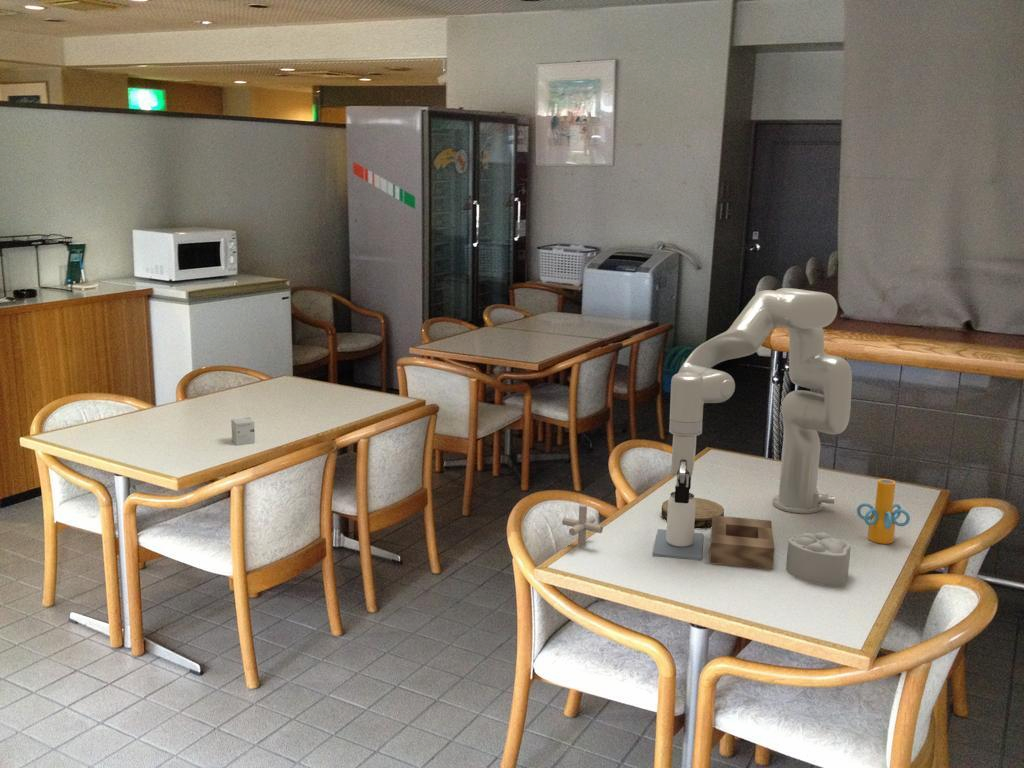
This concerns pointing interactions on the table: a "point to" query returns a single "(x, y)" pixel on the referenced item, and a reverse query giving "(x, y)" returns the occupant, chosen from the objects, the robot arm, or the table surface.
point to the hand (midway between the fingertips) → (682, 495)
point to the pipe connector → (582, 525)
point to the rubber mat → (678, 552)
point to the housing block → (742, 542)
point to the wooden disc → (700, 512)
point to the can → (680, 522)
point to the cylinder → (883, 514)
